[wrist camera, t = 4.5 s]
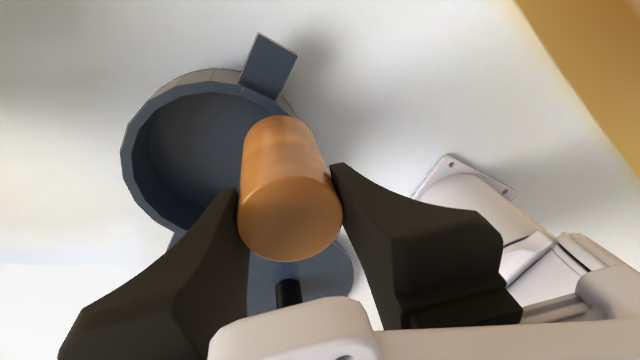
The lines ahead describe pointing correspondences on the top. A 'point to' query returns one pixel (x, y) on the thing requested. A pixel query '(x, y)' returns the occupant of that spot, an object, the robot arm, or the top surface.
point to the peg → (286, 192)
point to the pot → (201, 135)
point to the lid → (297, 280)
